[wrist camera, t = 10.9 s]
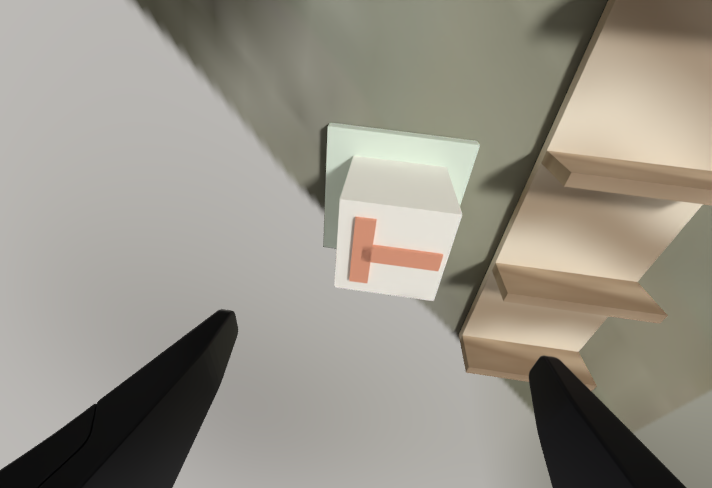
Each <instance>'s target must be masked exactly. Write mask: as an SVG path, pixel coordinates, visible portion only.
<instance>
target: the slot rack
mask: <svg viewBox="0 0 712 488" xmlns="http://www.w3.org/2000/svg"><path fill="white" fill-rule="evenodd" d="M703 204H704V205H712V0H608V2H607V4H606V6H605V9H604V11H603V13H602V15H601V18H600V20H599V22H598V24H597V27H596V29H595V31H594V33H593V36H592V38H591V40H590V42H589V44H588V47H587V49H586V51H585V53H584V56H583V58H582V60H581V62H580V65H579V67H578V69H577V71H576V74H575V76H574V78H573V80H572V83H571V85H570V87H569V89H568V91H567V94H566V96H565V98H564V100H563V103H562V105H561V107H560V109H559V112H558V114H557V116H556V118H555V121H554V123H553V125H552V127H551V130H550V132H549V134H548V136H547V138H546V141H545V143H544V145H543V147H542V150H541V152H540V154H539V156H538V159H537V161H536V163H535V165H534V168H533V170H532V172H531V174H530V176H529V179H528V181H527V183H526V185H525V188H524V190H523V192H522V194H521V197H520V199H519V201H518V203H517V206H516V208H515V210H514V212H513V215H512V217H511V219H510V221H509V223H508V226H507V228H506V230H505V232H504V235H503V237H502V239H501V241H500V244H499V246H498V248H497V250H496V253H495V255H494V257H493V259H492V262H491V264H490V266H489V268H488V270H487V273H486V275H485V277H484V279H483V282H482V284H481V286H480V288H479V291H478V293H477V295H476V297H475V300H474V302H473V304H472V306H471V309H470V311H469V313H468V315H467V317H466V320H465V322H464V324H463V326H462V329H461V331H460V333H459V338H460V343H461V349H462V354H463V359H464V364H465V369H466V372H467V373H473V374H480V375H487V376H494V377H500V378H507V379H514V380H520V381H527V382H529V372H530V370H531V368H532V367H533V365H534V364H535V363H536V361H537V360H538V359H539V357H540V356H543V355H545V356H552V357H556V358H558V359H560V360H561V361H562V362H563V363H564V364H565V365H566V366H567V367H568V368H569V369H570V370H571V371H572V372H573V373H574V374H575V375H576V376H577V377H578V378H579V379H580V380H581V381H582V382H583V383H584V384H585V385H586V386H587V387H588V388H589V390H590V391H592V390H593V389H594V388H595V387H596V386H597V385H596V384H595V382H594V380H593V378H592V376H591V374H590V372H589V371H588V369H587V367H586V365H585V363H584V361H583V360H582V358H581V356H580V354H579V350H580V349H581V348H582V347H583V346H584V345H585V343H586V342H587V341H588V340H589V339H590V337H591V336H592V335H593V334H594V333H595V331H596V330H597V329H598V328H599V327H600V326H601V324H602V323H603V322H604V321H605V320H606V318H607V317H608V316H611V317H618V318H625V319H632V320H639V321H646V322H653V323H661V322H662V321H663V320H664V319H665V318H666V317H667V316H668V315H667V314H666V313H665V312H664V311H663V310H662V309H661V308H660V307H659V305H658V304H657V303H656V302H655V301H654V300H653V299H652V298H651V297H650V295H649V294H648V293H647V292H646V291H645V290H644V289H643V288H642V287H641V285H640V284H639V283H638V280H639V279H640V278H641V277H642V276H643V275H644V273H645V272H646V271H647V270H648V269H649V267H650V266H651V265H652V264H653V263H654V261H655V260H656V259H657V258H658V257H659V256H660V254H661V253H662V252H663V251H664V250H665V248H666V247H667V246H668V245H669V244H670V243H671V241H672V240H673V239H674V238H675V237H676V235H677V234H678V233H679V232H680V231H681V229H682V228H683V227H684V226H685V225H686V224H687V222H688V221H689V220H690V219H691V218H692V216H693V215H694V214H695V213H696V212H697V210H698V209H699V208H700V207H701V206H702V205H703Z"/></svg>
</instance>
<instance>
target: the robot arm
mask: <svg viewBox="0 0 712 488" xmlns="http://www.w3.org/2000/svg"><path fill="white" fill-rule="evenodd" d="M237 334H238V326H237V321H236V316H235V313H234V312H233V311H230V310H223V309H221V310H218V311H217V312H216V313H214V314H213V315H211V316H210V317H209V318H207V319H206V320H205V321H203V322H202V323H201V324H200V325H198V326H197V327H195V328H194V329H193V330H192V331H190V332H189V333H188V334H187V335H185V336H184V337H182V338H181V339H180V340H178V341H177V342H176V343H174V344H173V345H172V346H170V347H169V348H168V349H166V350H165V351H164V352H162V353H161V354H160V355H158V356H157V357H156V358H154V359H153V360H152V361H151V362H149V363H148V364H147V365H145V366H144V367H143V368H141V369H140V370H139V371H137V372H136V373H135V374H133V375H132V376H131V377H129V378H128V379H127V380H125V381H124V382H123V383H121V384H120V385H119V386H117V387H116V388H115V389H114V390H112V391H111V392H110V393H108V394H107V395H106V396H104V397H103V398H102V399H100V400H99V401H98V402H97V404H94V405H92V406H91V407H90V408H88V409H87V410H86V411H84V412H83V413H82V414H80V415H79V416H78V417H76V418H75V419H73V420H72V421H71V422H69V423H68V424H67V425H66V426H64V427H63V428H61V429H60V430H58V431H57V432H56V433H54V434H53V435H52V436H50V437H49V438H47V439H46V440H44V441H43V442H42V443H40V444H38V445H37V446H35V447H34V448H32V449H31V450H30V451H28V452H27V453H25V454H24V455H22V456H21V457H19V458H18V459H16V460H15V461H13V462H12V463H10V464H9V465H7V466H6V467H4V468H3V469H1V470H0V488H172V487H173V485H174V483H175V481H176V479H177V476H178V474H179V472H180V470H181V468H182V466H183V464H184V462H185V459H186V457H187V455H188V453H189V451H190V448H191V447H192V444H193V442H194V440H195V438H196V436H197V434H198V432H199V429H200V427H201V425H202V423H203V421H204V419H205V417H206V415H207V412H208V410H209V408H210V406H211V404H212V401H213V400H214V397H215V395H216V393H217V391H218V389H219V386H220V384H221V381H222V378H223V376H224V373H225V370H226V367H227V364H228V361H229V358H230V355H231V352H232V349H233V346H234V344H235V341H236V338H237ZM529 384H530V390H531V396H532V402H533V408H534V414H535V420H536V425H537V430H538V435H539V439H540V443H541V447H542V450H543V454H544V458H545V461H546V465H547V468H548V472H549V476H550V480H551V483H552V487H553V488H686V487H685V486H684V485H683V484H682V483H681V482H680V481H679V480H678V479H677V478H676V477H675V476H674V475H673V474H672V473H671V472H670V471H669V470H668V469H667V468H666V467H665V465H664V464H663V463H661V461H660V460H659V459H658V458H657V457H656V456H655V455H654V454H653V453H652V452H651V451H650V450H649V449H648V448H647V447H646V446H645V445H644V444H643V443H642V442H641V441H640V440H639V439H638V438H637V437H636V436H635V435H634V434H633V433H632V432H631V431H630V430H629V429H628V428H627V427H626V426H625V425H624V424H623V423H622V422H621V421H620V420H619V419H618V418H617V417H616V416H615V415H614V414H613V413H612V412H611V411H610V410H609V409H608V408H607V407H606V406H605V405H604V404H603V403H602V402H601V401H600V400H599V399H598V398H597V397H596V396H595V395H594V394H593V393H592V392H591V391H590V390H589V388H588V387H587V386H586V385H585V384H584V383H583V382H582V381H581V380H580V379H579V378H578V377H577V376H576V375H575V374H574V373H573V372H572V371H571V370H570V369H569V368H568V367H567V366H566V365H565V364H564V363H563V362H562V361H561V360H560V359H558V358H556V357H552V356H545V355H543V356H540V357H539V359H538V360H537V361H536V363H535V364H534V365H533V367H532V368H531V370H530V372H529Z"/></svg>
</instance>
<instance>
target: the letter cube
mask: <svg viewBox="0 0 712 488" xmlns="http://www.w3.org/2000/svg"><path fill="white" fill-rule="evenodd" d="M461 217H462V212H461V209H460V206H459V203H458V200H457V197H456V194H455V191H454V188H453V185H452V182H451V179H450V176H449V173H448V170H447V167H442V166H434V165H426V164H418V163H410V162H402V161H394V160H385V159H377V158H369V157H361V156H353V159H352V162H351V165H350V168H349V171H348V175H347V178H346V181H345V184H344V187H343V190H342V194H341V197H340V203H339V219H338V235H337V252H336V268H335V285H334V287H336V288H343V289H351V290H358V291H365V292H372V293H380V294H387V295H394V296H402V297H409V298H416V299H423V300H430V301H434V298H435V295H436V292H437V289H438V286H439V283H440V280H441V277H442V274H443V271H444V268H445V265H446V262H447V259H448V256H449V253H450V250H451V247H452V244H453V241H454V238H455V235H456V232H457V229H458V226H459V223H460V220H461Z"/></svg>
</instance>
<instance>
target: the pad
mask: <svg viewBox="0 0 712 488" xmlns="http://www.w3.org/2000/svg"><path fill="white" fill-rule="evenodd" d="M479 146H480V144H479V143H478V141H474V140H466V139H458V138H450V137H442V136H434V135H426V134H418V133H410V132H402V131H394V130H386V129H378V128H370V127H362V126H354V125H346V124H338V123H329V125H328V134H327V161H326V188H325V215H324V243H323V247H328V248H335V249H337V235H338V219H339V203H340V197H341V194H342V190H343V187H344V184H345V181H346V178H347V175H348V171H349V168H350V165H351V162H352V159H353V156H361V157H369V158H377V159H385V160H394V161H402V162H410V163H418V164H426V165H434V166H442V167H447V170H448V173H449V176H450V179H451V182H452V185H453V188H454V191H455V194H456V197H457V200H458V203H459V206H460V205H461V202H462V198H463V195H464V192H465V189H466V186H467V183H468V180H469V177H470V174H471V171H472V168H473V165H474V162H475V159H476V156H477V152H478V149H479Z"/></svg>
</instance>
